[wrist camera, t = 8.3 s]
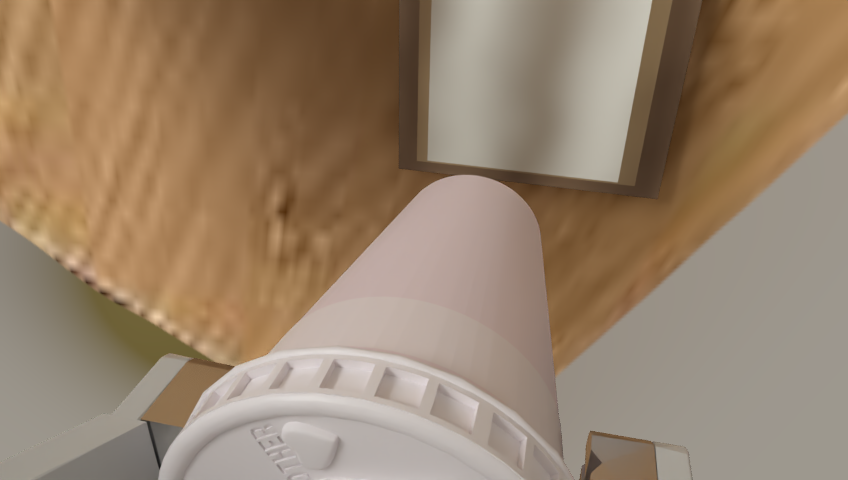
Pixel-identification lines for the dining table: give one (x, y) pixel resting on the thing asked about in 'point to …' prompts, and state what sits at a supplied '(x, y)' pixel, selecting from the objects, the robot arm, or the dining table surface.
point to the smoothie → (402, 362)
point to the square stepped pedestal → (544, 89)
